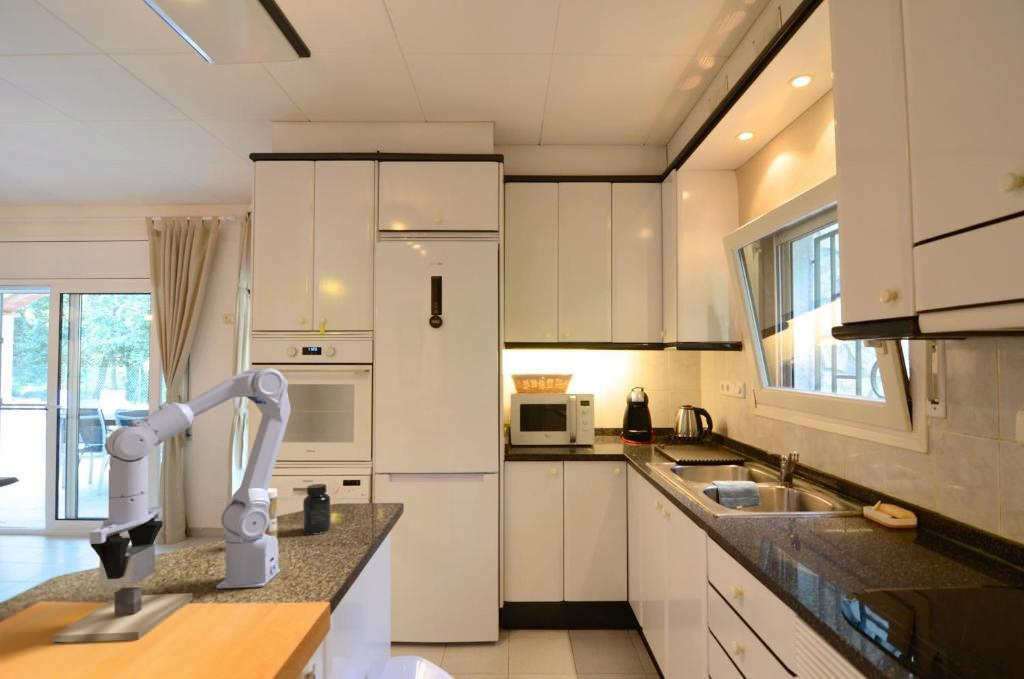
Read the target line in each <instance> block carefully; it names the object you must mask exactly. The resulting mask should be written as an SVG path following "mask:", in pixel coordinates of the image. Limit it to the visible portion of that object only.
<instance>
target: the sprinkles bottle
mask: <svg viewBox="0 0 1024 679" xmlns="http://www.w3.org/2000/svg"><path fill="white" fill-rule="evenodd" d="M267 493H268V496H269V500H270V506H269V510H268V513H269V525H268V527H267V529H266V531H265V534H266V535H270V536H275V537H276V538H277V540H278V511H277V510H278V508H277V497H278V489H277V488H273V487H271V488H269V487H268V490H267ZM278 541H279V540H278Z"/></svg>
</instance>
